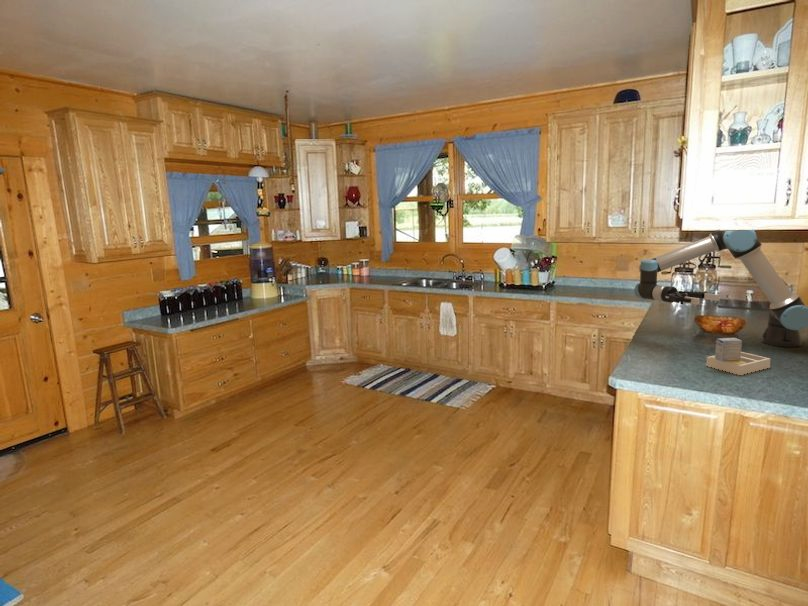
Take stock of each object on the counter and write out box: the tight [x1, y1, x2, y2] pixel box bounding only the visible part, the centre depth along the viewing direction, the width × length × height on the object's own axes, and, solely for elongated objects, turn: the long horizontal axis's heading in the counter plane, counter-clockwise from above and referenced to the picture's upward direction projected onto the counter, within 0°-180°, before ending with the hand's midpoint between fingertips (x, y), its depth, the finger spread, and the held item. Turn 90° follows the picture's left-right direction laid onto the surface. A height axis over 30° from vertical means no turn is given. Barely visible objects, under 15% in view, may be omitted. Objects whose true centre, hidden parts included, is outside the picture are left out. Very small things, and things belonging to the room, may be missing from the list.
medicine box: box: [714, 337, 743, 361], centre depth 200 cm, size 8×4×9 cm, turn 92°
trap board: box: [705, 351, 771, 376], centre depth 204 cm, size 19×14×4 cm
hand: (709, 299), depth 215 cm, fingers open, 13 cm apart
